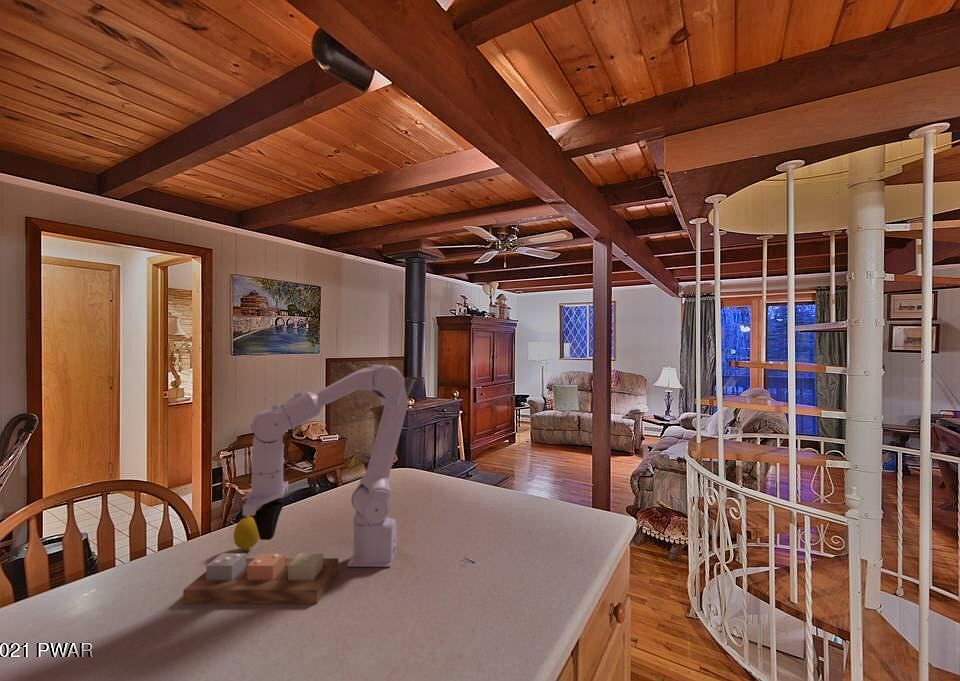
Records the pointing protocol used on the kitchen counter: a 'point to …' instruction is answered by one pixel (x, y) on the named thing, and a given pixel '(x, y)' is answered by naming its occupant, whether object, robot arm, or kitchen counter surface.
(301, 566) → the tile one
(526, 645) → the kitchen counter surface
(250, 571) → the tile two
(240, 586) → the button board
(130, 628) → the kitchen counter surface
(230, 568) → the tile three
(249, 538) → the lemon
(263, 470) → the robot arm
